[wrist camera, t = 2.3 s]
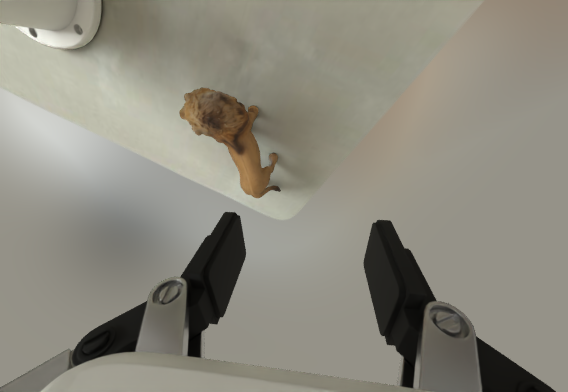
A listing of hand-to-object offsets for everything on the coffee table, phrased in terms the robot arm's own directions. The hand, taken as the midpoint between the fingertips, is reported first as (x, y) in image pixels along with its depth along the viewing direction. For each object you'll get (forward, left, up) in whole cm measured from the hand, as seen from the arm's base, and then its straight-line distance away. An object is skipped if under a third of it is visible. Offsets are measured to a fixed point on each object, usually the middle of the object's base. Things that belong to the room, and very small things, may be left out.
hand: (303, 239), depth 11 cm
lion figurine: (-8, 0, -18) cm, 19 cm away
